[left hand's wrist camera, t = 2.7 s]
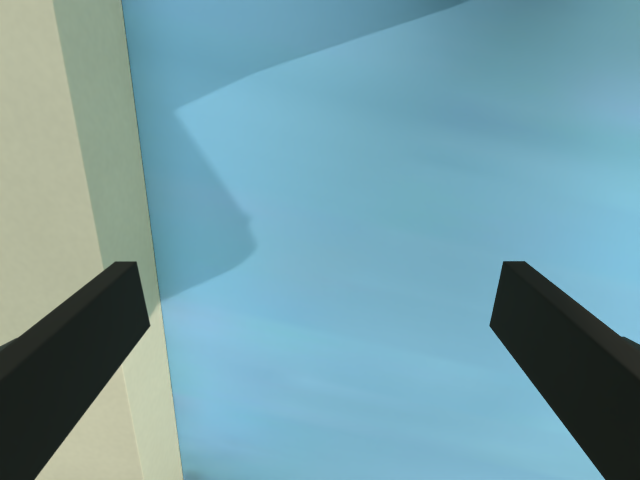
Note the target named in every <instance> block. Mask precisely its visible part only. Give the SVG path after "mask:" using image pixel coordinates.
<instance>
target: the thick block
mask: <svg viewBox="0 0 640 480" xmlns="http://www.w3.org/2000/svg"><path fill="white" fill-rule="evenodd" d="M115 261H137V265H138V270H139V275H140V279H141V284H142V289H143V293H144V298H145V303H146V307H147V312H148V316H149V321H150V327H149V329H148V330H147V331H146V333H145V334H144V335H143V337H142V338H141V339H140V341H139V342H138V343H137V345H136V346H135V347H134V348H133V350H132V351H131V352H130V354H129V355H128V356H127V358H126V359H125V360H124V362H123V363H122V364H121V366H120V367H119V368H118V370H117V371H116V372H115V374H114V375H113V376H112V378H111V379H110V380H109V382H108V383H107V384H106V386H105V387H104V388H103V390H102V391H101V392H100V394H99V395H98V396H97V398H96V399H95V400H94V402H93V403H92V404H91V406H90V407H89V408H88V410H87V411H86V412H85V414H84V415H83V416H82V417H81V419H80V420H79V421H78V423H77V424H76V425H75V427H74V428H73V429H72V431H71V432H70V433H69V435H68V436H67V437H66V439H65V440H64V441H63V443H62V444H61V445H60V447H59V448H58V449H57V451H56V452H55V453H54V455H53V456H52V457H51V459H50V460H49V461H48V463H47V464H46V465H45V467H44V468H43V469H42V471H41V472H40V473H39V475H38V476H37V477H36V479H35V480H183V474H182V466H181V458H180V450H179V443H178V435H177V427H176V420H175V412H174V404H173V396H172V389H171V381H170V373H169V365H168V358H167V350H166V342H165V335H164V327H163V319H162V311H161V304H160V296H159V288H158V281H157V273H156V265H155V257H154V250H153V242H152V234H151V227H150V219H149V211H148V203H147V196H146V188H145V180H144V172H143V165H142V157H141V149H140V142H139V134H138V126H137V118H136V111H135V103H134V95H133V88H132V80H131V72H130V64H129V57H128V49H127V41H126V34H125V26H124V18H123V10H122V3H121V0H0V346H2V345H4V344H6V343H7V342H9V341H11V340H13V339H15V338H18V337H19V336H21V335H22V334H23V333H24V332H26V331H27V330H28V329H30V328H31V327H32V326H33V325H35V324H36V323H37V322H38V321H40V320H41V319H42V318H44V317H45V316H46V315H47V314H49V313H50V312H51V311H53V310H54V309H55V308H56V307H58V306H59V305H60V304H61V303H63V302H64V301H65V300H67V299H68V298H69V297H70V296H72V295H73V294H74V293H76V292H77V291H78V290H79V289H81V288H82V287H83V286H84V285H86V284H87V283H88V282H90V281H91V280H92V279H93V278H95V277H96V276H97V275H98V274H100V273H101V272H102V271H104V270H105V269H106V268H107V267H109V266H110V265H111V264H113V263H114V262H115Z"/></svg>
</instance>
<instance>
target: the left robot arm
mask: <svg viewBox="0 0 640 480" xmlns="http://www.w3.org/2000/svg"><path fill="white" fill-rule="evenodd" d="M149 327H150V321H149V316H148V312H147V307H146V303H145V298H144V293H143V289H142V284H141V279H140V275H139V270H138V265H137V261H115V262H114V263H113V264H111V265H110V266H109V267H107V268H106V269H105V270H104V271H102V272H101V273H100V274H98V275H97V276H96V277H95V278H93V279H92V280H91V281H90V282H88V283H87V284H86V285H84V286H83V287H82V288H81V289H79V290H78V291H77V292H76V293H74V294H73V295H72V296H70V297H69V298H68V299H67V300H65V301H64V302H63V303H61V304H60V305H59V306H58V307H56V308H55V309H54V310H53V311H51V312H50V313H49V314H47V315H46V316H45V317H44V318H42V319H41V320H40V321H38V322H37V323H36V324H35V325H33V326H32V327H31V328H30V329H28V330H27V331H26V332H24V333H23V334H22V335H21V336H19V337H18V338H15V339H13V340H11V341H9V342H7V343H6V344H4V345H2V346H0V480H35V479H36V477H37V476H38V475H39V473H40V472H41V471H42V469H43V468H44V467H45V465H46V464H47V463H48V461H49V460H50V459H51V457H52V456H53V455H54V453H55V452H56V451H57V449H58V448H59V447H60V445H61V444H62V443H63V441H64V440H65V439H66V437H67V436H68V435H69V433H70V432H71V431H72V429H73V428H74V427H75V425H76V424H77V423H78V421H79V420H80V419H81V417H82V416H83V415H84V414H85V412H86V411H87V410H88V408H89V407H90V406H91V404H92V403H93V402H94V400H95V399H96V398H97V396H98V395H99V394H100V392H101V391H102V390H103V388H104V387H105V386H106V384H107V383H108V382H109V380H110V379H111V378H112V376H113V375H114V374H115V372H116V371H117V370H118V368H119V367H120V366H121V364H122V363H123V362H124V360H125V359H126V358H127V356H128V355H129V354H130V352H131V351H132V350H133V348H134V347H135V346H136V345H137V343H138V342H139V341H140V339H141V338H142V337H143V335H144V334H145V333H146V331H147V330H148V329H149ZM490 327H491V329H492V330H493V331H494V333H495V334H496V335H497V337H498V338H499V339H500V341H501V342H502V343H503V345H504V346H505V347H506V348H507V350H508V351H509V352H510V354H511V355H512V356H513V358H514V359H515V360H516V362H517V363H518V364H519V366H520V367H521V368H522V370H523V371H524V372H525V374H526V375H527V376H528V378H529V379H530V380H531V382H532V383H533V384H534V386H535V387H536V388H537V390H538V391H539V392H540V394H541V395H542V396H543V398H544V399H545V400H546V402H547V403H548V404H549V406H550V407H551V408H552V410H553V411H554V412H555V414H556V415H557V416H558V417H559V419H560V420H561V421H562V423H563V424H564V425H565V427H566V428H567V429H568V431H569V432H570V433H571V435H572V436H573V437H574V439H575V440H576V441H577V443H578V444H579V445H580V447H581V448H582V449H583V451H584V452H585V453H586V455H587V456H588V457H589V459H590V460H591V461H592V463H593V464H594V465H595V467H596V468H597V469H598V471H599V472H600V473H601V475H602V476H603V477H604V479H605V480H640V345H639V344H637V343H635V342H634V341H632V340H630V339H628V338H626V337H621V336H619V335H618V334H617V333H616V332H614V331H613V330H612V329H610V328H609V327H608V326H607V325H605V324H604V323H603V322H602V321H600V320H599V319H598V318H596V317H595V316H594V315H593V314H591V313H590V312H589V311H587V310H586V309H585V308H584V307H582V306H581V305H580V304H579V303H577V302H576V301H575V300H573V299H572V298H571V297H570V296H568V295H567V294H566V293H564V292H563V291H562V290H561V289H559V288H558V287H557V286H556V285H554V284H553V283H552V282H550V281H549V280H548V279H547V278H545V277H544V276H543V275H542V274H540V273H539V272H538V271H536V270H535V269H534V268H533V267H531V266H530V265H529V264H527V263H526V262H525V261H503V265H502V270H501V275H500V279H499V284H498V289H497V293H496V298H495V302H494V307H493V312H492V316H491V321H490Z"/></svg>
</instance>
